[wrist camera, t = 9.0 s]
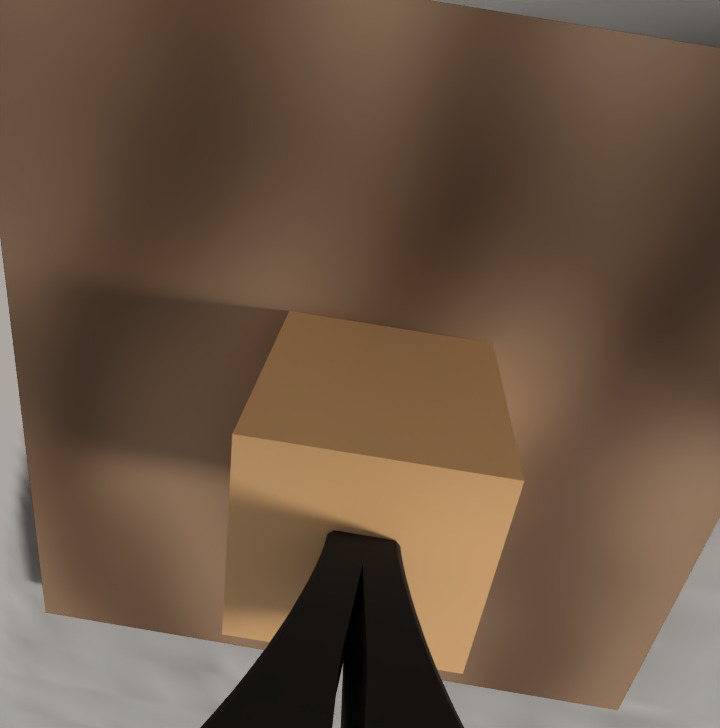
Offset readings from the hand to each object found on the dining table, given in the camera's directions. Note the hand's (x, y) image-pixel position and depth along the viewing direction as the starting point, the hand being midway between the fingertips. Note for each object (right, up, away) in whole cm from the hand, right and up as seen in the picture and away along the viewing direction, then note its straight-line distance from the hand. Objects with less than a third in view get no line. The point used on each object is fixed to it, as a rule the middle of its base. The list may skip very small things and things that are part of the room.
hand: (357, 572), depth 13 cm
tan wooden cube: (0, +3, +5) cm, 6 cm away
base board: (+1, +3, +6) cm, 7 cm away
